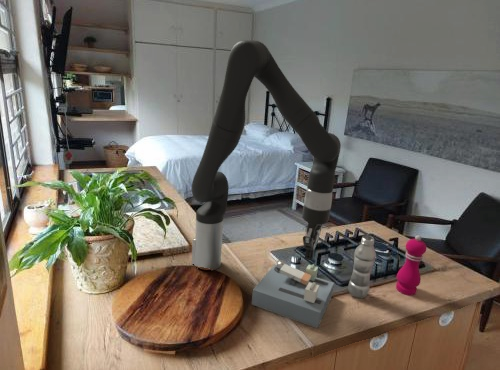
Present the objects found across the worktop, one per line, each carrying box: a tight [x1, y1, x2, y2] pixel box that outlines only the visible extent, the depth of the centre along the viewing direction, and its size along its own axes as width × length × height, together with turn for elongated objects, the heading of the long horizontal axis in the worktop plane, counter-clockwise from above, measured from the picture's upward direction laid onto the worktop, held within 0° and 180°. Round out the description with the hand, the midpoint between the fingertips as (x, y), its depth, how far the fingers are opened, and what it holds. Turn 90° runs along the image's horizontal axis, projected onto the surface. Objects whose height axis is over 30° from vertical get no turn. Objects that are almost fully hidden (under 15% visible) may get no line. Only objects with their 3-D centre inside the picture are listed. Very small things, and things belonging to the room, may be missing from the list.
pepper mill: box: [395, 234, 427, 296], centre depth 115 cm, size 7×7×20 cm
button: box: [276, 259, 287, 270], centre depth 114 cm, size 3×3×2 cm
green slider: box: [305, 263, 319, 281], centre depth 110 cm, size 3×3×4 cm
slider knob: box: [304, 282, 319, 303], centre depth 100 cm, size 3×4×4 cm
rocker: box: [279, 263, 311, 285], centre depth 108 cm, size 9×5×1 cm, turn 65°
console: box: [251, 264, 335, 329], centre depth 107 cm, size 20×17×6 cm
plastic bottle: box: [347, 235, 377, 299], centre depth 110 cm, size 6×7×20 cm
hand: (308, 258), depth 105 cm, fingers closed
